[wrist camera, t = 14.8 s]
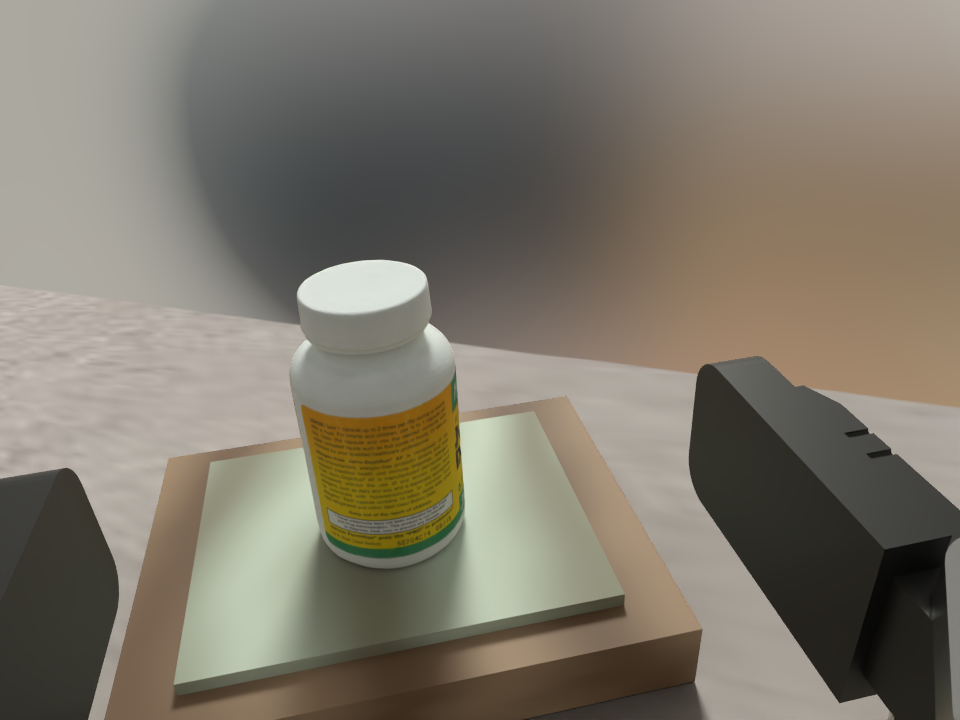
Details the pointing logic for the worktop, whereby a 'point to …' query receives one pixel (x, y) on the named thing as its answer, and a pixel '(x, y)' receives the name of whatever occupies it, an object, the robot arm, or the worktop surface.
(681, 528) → the worktop surface
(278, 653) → the brown flat wooden block
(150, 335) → the worktop surface
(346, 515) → the supplement bottle
